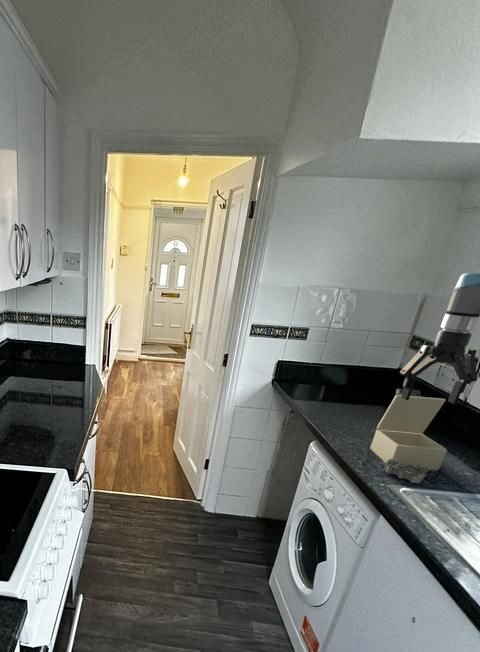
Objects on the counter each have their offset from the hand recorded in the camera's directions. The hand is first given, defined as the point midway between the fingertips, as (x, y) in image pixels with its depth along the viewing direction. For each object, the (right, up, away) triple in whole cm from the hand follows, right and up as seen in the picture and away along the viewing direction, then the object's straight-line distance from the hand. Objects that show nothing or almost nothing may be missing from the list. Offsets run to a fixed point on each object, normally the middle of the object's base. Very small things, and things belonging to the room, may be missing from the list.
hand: (428, 400), depth 127 cm
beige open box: (+6, -19, +18) cm, 27 cm away
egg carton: (-3, -24, +7) cm, 25 cm away
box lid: (+7, -4, +17) cm, 18 cm away
